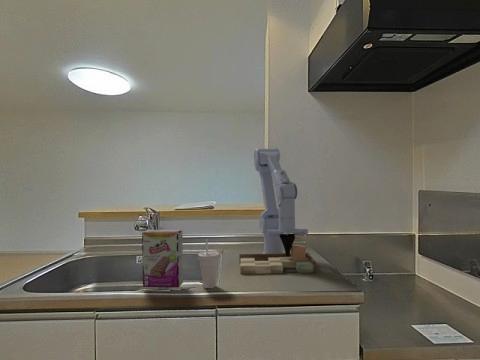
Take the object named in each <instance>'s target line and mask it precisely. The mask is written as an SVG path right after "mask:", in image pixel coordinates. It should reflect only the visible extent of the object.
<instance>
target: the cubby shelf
mask: <svg viewBox="0 0 480 360" xmlns="http://www.w3.org/2000/svg"><path fill="white" fill-rule="evenodd" d="M238 257H239V266H240V268H239V269H240V271H239V272H240V275H243V274H244V275H247V274H249V275H250V274H251V275H252V274H256V275H257V274H308V273H311V274H317V262H316V261H315V259H314V258H313V257H312V256H311V254H310V253H309V252H306V260H292V258H291V252H290V256H286V255H285V252H282V253H273V254H263V253H240V254H239V256H238Z"/></svg>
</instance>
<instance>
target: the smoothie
mask: <svg viewBox="0 0 480 360" xmlns="http://www.w3.org/2000/svg"><path fill="white" fill-rule="evenodd" d="M208 240H209V239H208V238H205V251H202V252H199V253H198V254H197V258H198V261H199V266H200V267H199V268H200V273H201V280H202V288H203V287H204V288H203V289H206V288H212V289H214V287H215V288H216V287H217V277H218V269H219V267H218V266H219V259H220V257H221V256H220V253H219V252H218V251H209V250H208V249H209V241H208Z"/></svg>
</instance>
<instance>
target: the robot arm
mask: <svg viewBox="0 0 480 360" xmlns="http://www.w3.org/2000/svg"><path fill="white" fill-rule="evenodd" d="M280 159H281V152H280V150H279V148H277V147H276V148H258V147H256V148H255V150H254V152H253V163H254V168H255V171H257V172H258V173H259V178H260V183H261V192H262V196H263V197H262V198H263V205H264V211H262V212H261V213H260V215H259V219H258V220H259V230H260V232H261V233H262V234H263V242H264V243H263V247H264V250H263V251H262V254H273V253H283V248H284V253H285V255H286V256H290V253H291V247H292V245H294V242H295V239H296V236H309V230H308V229H307V228H296V210H295V207H296V206H295V205H296V204H295V200H296V199H297V197H298V188H297V187H298V186H297V185H296V183H294V182H293V181H291V180H290V178H289V176H288V174H287V172H286V171H285V170H283V169H282V167H281V164H280ZM277 205H278V207H277Z"/></svg>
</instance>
